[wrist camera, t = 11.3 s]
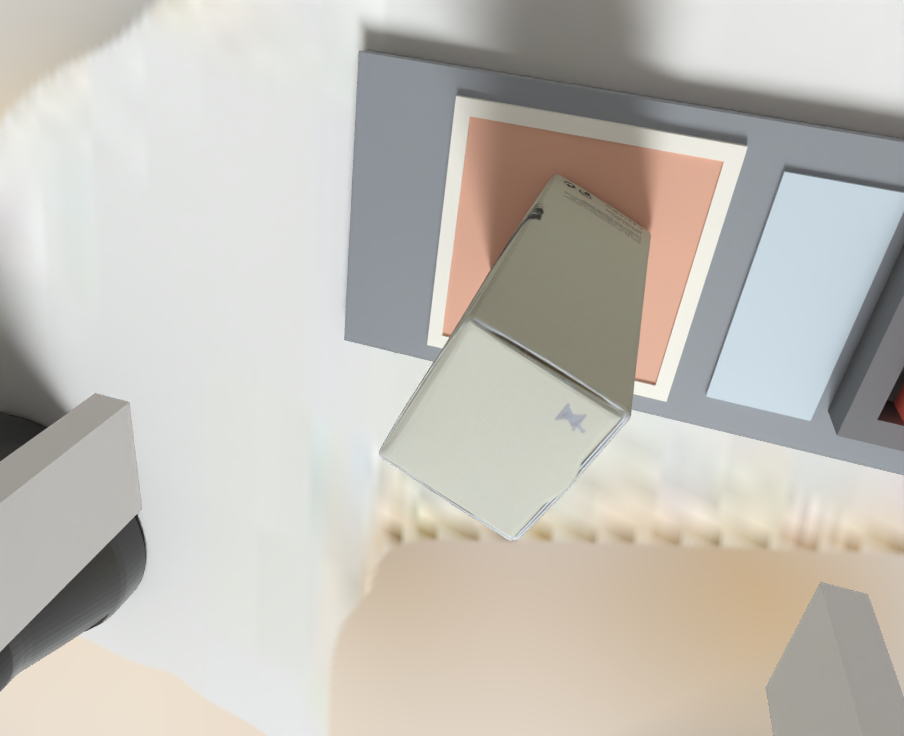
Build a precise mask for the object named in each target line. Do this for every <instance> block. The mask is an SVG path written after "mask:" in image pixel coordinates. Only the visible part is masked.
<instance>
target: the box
mask: <svg viewBox="0 0 904 736" xmlns="http://www.w3.org/2000/svg"><path fill="white" fill-rule="evenodd" d="M650 240H651V234H650V232H649V231H647V230H646V229H644V228H643V227H641V226H640V225H638V224H637V223H635V222H634V221H633V220H631V219H630V218H628V217H627V216H625V215H624V214H622V213H621V212H619V211H617V210H616V209H614V208H613V207H611V206H610V205H608V204H607V203H605V202H603V201H602V200H600V199H599V198H597V197H596V196H594V195H592V194H591V193H589V192H588V191H586V190H585V189H583V188H581V187H580V186H578V185H576V184H575V183H573V182H571V181H570V180H568V179H566V178H565V177H563V176H561V175H559V174H555V175H554V176H553V177H552V178H551V179H550V180H549V182H548V183H547V185H546V186H545V188H544V189H543V190H542V192H541V193H540V195H539V196H538V198H537V199H536V200H535V202H534V203H533V205H532V206H531V208H530V209H529V211H528V212H527V214H526V215H525V217H524V218H523V220H522V221H521V223H520V224H519V226H518V227H517V229H516V230H515V232H514V233H513V235H512V237H511V238H510V240H509V241H508V243H507V245H506V246H505V248H504V249H503V251H502V253H501V254H500V256H499V257H498V259H497V260H496V262H495V264H494V265H493V267H492V268H491V270H490V272H489V273H488V275H487V276H486V278H485V280H484V281H483V283H482V285H481V286H480V288H479V290H478V291H477V293H476V295H475V296H474V298H473V299H472V301H471V303H470V304H469V306H468V308H467V309H466V311H465V313H464V314H463V316H462V317H461V319H460V321H459V322H458V324H457V326H456V327H455V329H454V331H453V332H452V334H451V335H450V337H449V339H448V341H447V342H446V344H445V345H444V347H443V348H442V350H441V351H440V353H439V354H438V356H437V358H436V359H435V361H434V362H433V364H432V365H431V367H430V369H429V370H428V372H427V373H426V375H425V376H424V378H423V379H422V381H421V383H420V384H419V386H418V387H417V389H416V390H415V392H414V394H413V395H412V397H411V398H410V400H409V401H408V403H407V405H406V406H405V408H404V409H403V411H402V413H401V414H400V416H399V418H398V419H397V421H396V423H395V424H394V426H393V428H392V429H391V431H390V433H389V435H388V436H387V438H386V440H385V442H384V443H383V445H382V447H381V449H380V451H379V454H380V457H381V458H382V459H383V460H385V461H387V462H388V463H390V464H392V465H393V466H395V467H396V468H398V469H399V470H401V471H403V472H404V473H406V474H407V475H409V476H410V477H412V478H413V479H415V480H416V481H418V482H419V483H421V484H422V485H423V486H425V487H426V488H428V489H429V490H431V491H433V492H435V493H436V494H437V495H439V496H440V497H442V498H443V499H445V500H446V501H448V502H449V503H451V504H452V505H454V506H455V507H457V508H458V509H460V510H462V511H463V512H465V513H466V514H468V515H469V516H471V517H473V518H474V519H476V520H477V521H479V522H480V523H482V524H484V525H485V526H487V527H488V528H490V529H491V530H493V531H495V532H496V533H498V534H499V535H501V536H503V537H504V538H506V539H507V540H509V541H513V540H517V539H519V538H520V537H522V536H523V535H524V534H525V533H526V532H527V531H528V530H529V529H530V528H531V527H532V526H533V525H534V524H535V523H536V522H537V521H538V520H539V519H540V518H541V517H542V516H543V515H544V514H545V512H546V511H547V510H548V509H549V508H550V507H551V506H552V505H553V504H554V503H555V502H556V501H557V500H558V499H559V498H560V497H561V496H562V495H563V494H564V493H565V492H566V491H567V489H568V488H569V487H570V486H571V485H572V484H573V483H574V482H575V481H576V479H577V478H578V477H579V476H580V475H581V474H582V473H583V471H584V470H585V469H586V468H587V467H588V466H589V465H590V464H591V463H592V461H593V460H594V459H595V458H596V457H597V456H598V455H599V454H600V452H601V451H602V450H603V449H604V448H605V447H606V446H607V444H608V443H609V442H610V441H611V440H612V439H613V437H614V436H615V435H616V434H617V433H618V432H619V430H620V429H621V428H622V427H623V426H624V425H625V424H626V423H627V422H628V420H629V419H630V416H631V409H632V402H633V393H634V383H635V374H636V365H637V356H638V348H639V339H640V329H641V319H642V311H643V301H644V292H645V282H646V274H647V264H648V256H649V249H650Z"/></svg>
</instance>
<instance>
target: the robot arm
mask: <svg viewBox="0 0 904 736" xmlns="http://www.w3.org/2000/svg"><path fill="white" fill-rule="evenodd" d="M141 510H142V504H141V496H140V487H139V479H138V471H137V462H136V454H135V445H134V437H133V429H132V420H131V412H130V403H129V402H127V401H123V400H119V399H115V398H111V397H107V396H104V395H100V394H96V393H95V394H94V395H92V396H91V397H89V398H88V399H87V400H85V401H84V402H82V403H81V404H80V405H78V406H77V407H75V408H74V409H73V410H71V411H70V412H69V413H67V414H66V415H64V416H63V417H62V418H60V419H59V420H57V421H56V422H55V423H53V424H52V425H50V426H49V427H48V428H44V427H42V426H40V425H37V424H35V423H33V422H30V421H28V420H25V419H22V418H19V417H15V416H11V415H6V414H1V413H0V691H1V690H2V689H3V688H4V687H5V686H6V685H7V684H8V683H9V682H10V681H11V680H12V679H13V678H14V677H15V676H16V675H17V674H18V673H19V672H21V671H23V670H24V669H26V668H27V667H29V666H31V665H32V664H34V663H36V662H37V661H39V660H40V659H42V658H44V657H45V656H47V655H48V654H50V653H52V652H53V651H55V650H56V649H58V648H60V647H61V646H63V645H64V644H66V643H67V642H69V641H71V640H72V639H74V638H75V637H77V636H78V635H80V634H81V633H83V632H84V631H88V630H89V629H91V628H93V627H95V626H97V625H99V624H101V623H103V622H104V621H106V620H107V619H108V618H109V617H111V616H112V615H113V614H114V613H115V612H116V611H117V610H118V609H119V608H120V606H121V605H122V604H123V603H124V602H125V601H126V600H127V599H128V597H129V596H130V595H131V594H132V593H133V592H134V591H135V590H136V588H137V587H138V585H139V584H140V582H141V580H142V577H143V574H144V569H145V547H144V541H143V537H142V534H141V531H140V528H139V525H138V523H137V520H136V518H135V516H136V515H137V514H138V513H139V512H140V511H141ZM766 692H767V698H768V705H769V711H770V718H771V724H772V731H773V736H904V697H903V694H902V691H901V688H900V685H899V682H898V679H897V676H896V674H895V671H894V668H893V665H892V662H891V659H890V657H889V654H888V651H887V648H886V645H885V642H884V639H883V636H882V633H881V630H880V628H879V625H878V622H877V619H876V616H875V613H874V610H873V607H872V605H871V602H870V599H869V596H868V594H864V593H861V592H857V591H853V590H849V589H845V588H841V587H838V586H834V585H830V584H826V583H822V582H820V584H819V586H818V588H817V589H816V591H815V594H814V595H813V598H812V599H811V601H810V603H809V605H808V607H807V609H806V611H805V612H804V614H803V616H802V618H801V620H800V622H799V624H798V626H797V628H796V630H795V632H794V634H793V636H792V638H791V639H790V642H789V643H788V645H787V647H786V649H785V651H784V653H783V655H782V657H781V659H780V661H779V663H778V665H777V666H776V668H775V670H774V672H773V674H772V676H771V678H770V680H769V682H768V684H767V686H766Z"/></svg>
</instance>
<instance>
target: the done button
mask: <svg viewBox="0 0 904 736" xmlns="http://www.w3.org/2000/svg"><path fill="white" fill-rule="evenodd" d="M894 405H895V407H896V409H897V411H898V412H899V414H900V416H901V418H902V420H903V422H904V384H903V386H902V388H901V390H900V392H899V393H898V395H897V397H896V399H895V401H894Z"/></svg>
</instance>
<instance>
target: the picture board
mask: <svg viewBox="0 0 904 736" xmlns="http://www.w3.org/2000/svg"><path fill="white" fill-rule="evenodd" d="M555 174H559V175H561V176H563V177H565V178H566V179H568V180H570V181H571V182H573V183H575V184H576V185H578V186H580V187H581V188H583V189H585V190H586V191H588V192H589V193H591V194H592V195H594V196H596V197H597V198H599V199H600V200H602V201H603V202H605V203H607V204H608V205H610V206H611V207H613V208H614V209H616V210H617V211H619V212H621V213H622V214H624V215H625V216H627V217H628V218H630V219H631V220H633V221H634V222H635V223H637V224H638V225H640V226H641V227H643V228H644V229H646V230H647V231H649V232H650V234H651V240H650V249H649V256H648V264H647V274H646V282H645V292H644V301H643V311H642V319H641V329H640V339H639V348H638V356H637V365H636V374H635V383H634V393H633V402H632V410H636V411H640V412H644V413H648V414H652V415H657V416H661V417H665V418H669V419H673V420H677V421H681V422H686V423H690V424H694V425H698V426H702V427H706V428H710V429H715V430H719V431H723V432H727V433H731V434H735V435H739V436H743V437H748V438H752V439H756V440H760V441H764V442H768V443H772V444H777V445H781V446H785V447H789V448H793V449H797V450H801V451H806V452H810V453H814V454H818V455H822V456H826V457H830V458H834V459H839V460H843V461H847V462H851V463H855V464H859V465H863V466H868V467H872V468H876V469H880V470H884V471H888V472H892V473H896V474H901V475H904V422H903V420H902V418H901V416H900V414H899V412H898V411H897V409H896V407H895V405H894V401H895V399H896V397H897V395H898V393H899V392H900V390H901V388H902V386H903V384H904V139H901V138H895V137H889V136H882V135H876V134H870V133H864V132H858V131H852V130H846V129H840V128H834V127H828V126H822V125H816V124H810V123H804V122H798V121H792V120H786V119H780V118H774V117H768V116H762V115H756V114H750V113H744V112H738V111H732V110H726V109H720V108H714V107H708V106H702V105H696V104H690V103H684V102H678V101H672V100H666V99H659V98H653V97H647V96H641V95H635V94H629V93H623V92H617V91H611V90H605V89H599V88H593V87H587V86H581V85H575V84H569V83H563V82H557V81H551V80H545V79H539V78H533V77H527V76H521V75H515V74H509V73H503V72H497V71H491V70H485V69H479V68H473V67H467V66H461V65H455V64H449V63H443V62H437V61H430V60H424V59H418V58H412V57H406V56H400V55H394V54H388V53H382V52H376V51H370V50H364V51H360V52H359V62H358V81H357V101H356V121H355V140H354V160H353V179H352V199H351V219H350V238H349V258H348V277H347V297H346V317H345V336H344V340H346V341H351V342H355V343H359V344H363V345H367V346H371V347H375V348H380V349H384V350H388V351H392V352H396V353H400V354H404V355H408V356H413V357H417V358H421V359H425V360H429V361H433V362H434V361H435V359H436V358H437V356H438V354H439V353H440V351H441V350H442V348H443V347H444V345H445V344H446V342H447V341H448V339H449V337H450V335H451V334H452V332H453V331H454V329H455V327H456V326H457V324H458V322H459V321H460V319H461V317H462V316H463V314H464V313H465V311H466V309H467V308H468V306H469V304H470V303H471V301H472V299H473V298H474V296H475V295H476V293H477V291H478V290H479V288H480V286H481V285H482V283H483V281H484V280H485V278H486V276H487V275H488V273H489V272H490V270H491V268H492V267H493V265H494V264H495V262H496V260H497V259H498V257H499V256H500V254H501V253H502V251H503V249H504V248H505V246H506V245H507V243H508V241H509V240H510V238H511V237H512V235H513V233H514V232H515V230H516V229H517V227H518V226H519V224H520V223H521V221H522V220H523V218H524V217H525V215H526V214H527V212H528V211H529V209H530V208H531V206H532V205H533V203H534V202H535V200H536V199H537V198H538V196H539V195H540V193H541V192H542V190H543V189H544V188H545V186H546V185H547V183H548V182H549V180H550V179H551V178H552V177H553V176H554V175H555Z"/></svg>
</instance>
